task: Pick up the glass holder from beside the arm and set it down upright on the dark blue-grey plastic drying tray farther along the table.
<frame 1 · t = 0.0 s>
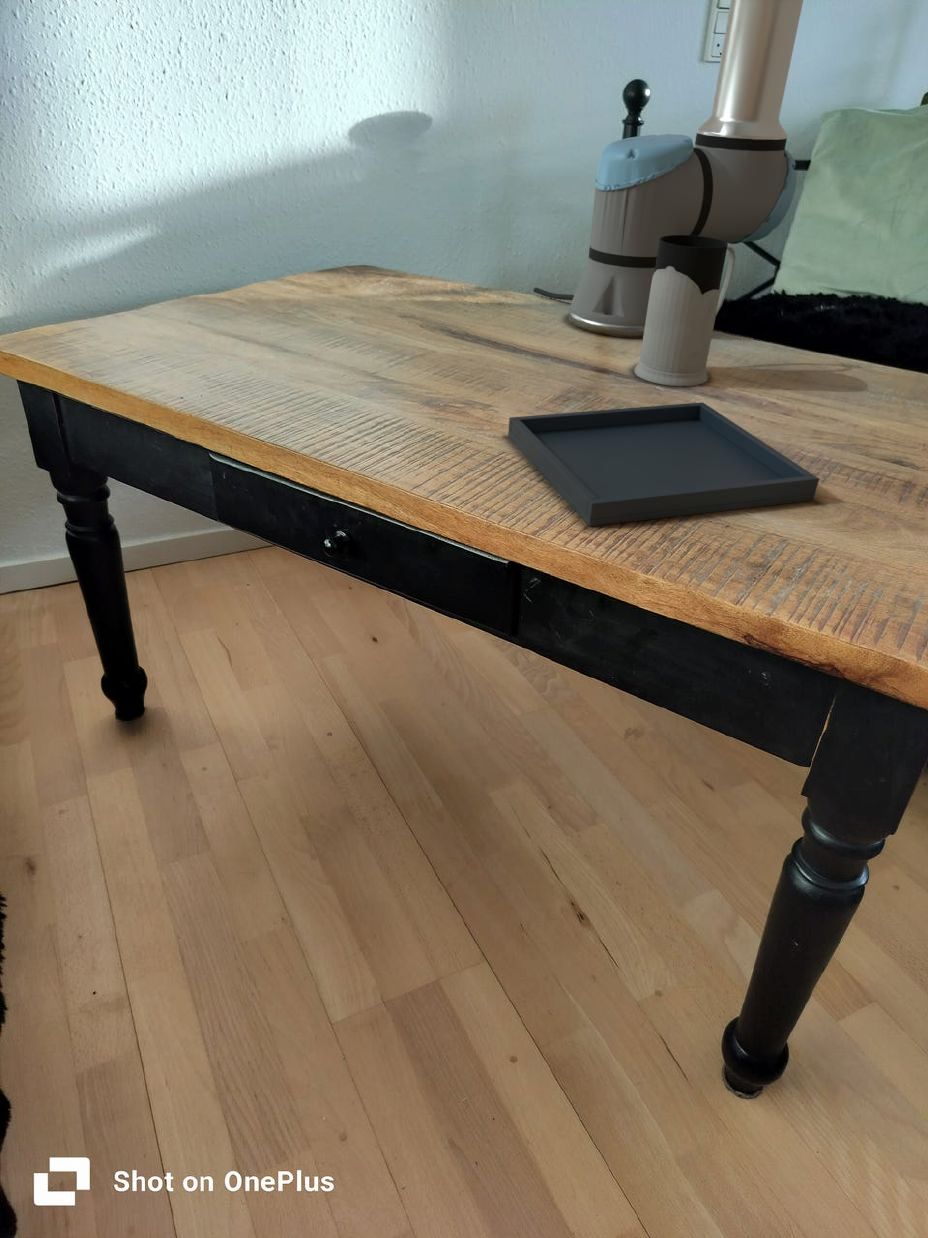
drying tray: (651, 467, 81), on the table
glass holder: (682, 371, 106), on the table
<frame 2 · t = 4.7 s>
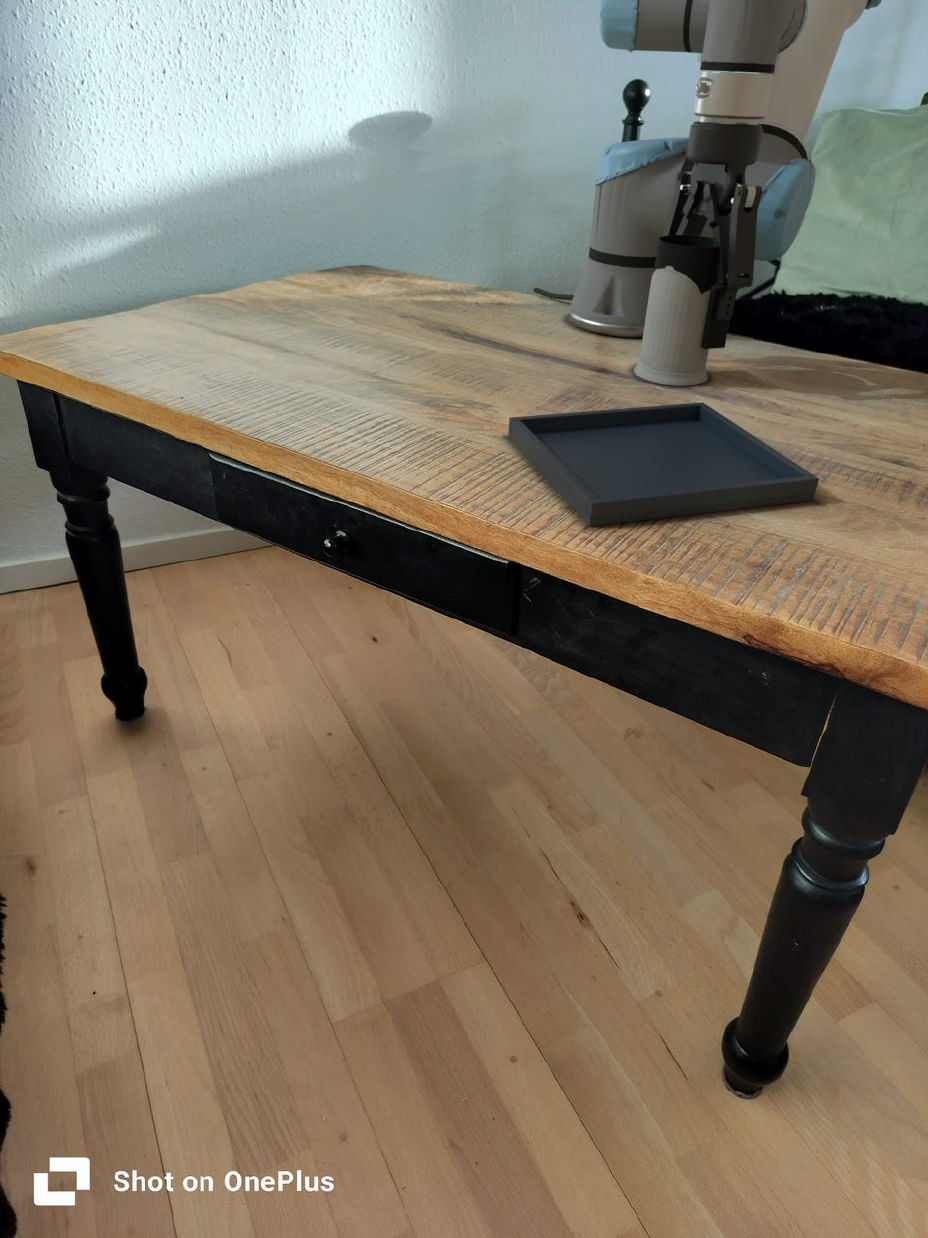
hand: (690, 335, 104), 4 cm above the table, tool pointing down, fingers open, 9 cm apart
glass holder: (682, 371, 106), on the table, touching gripper
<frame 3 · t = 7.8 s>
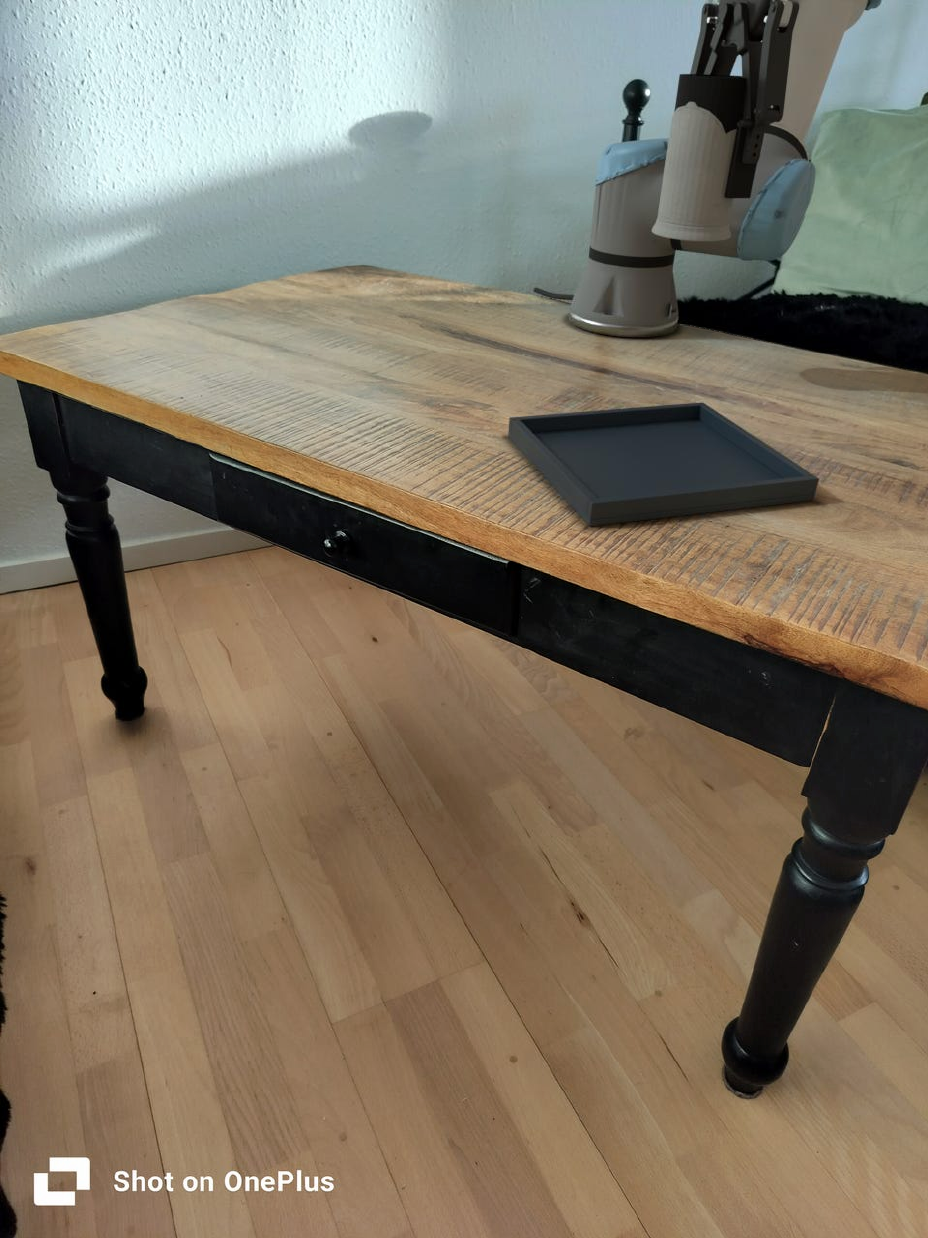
hand: (715, 191, 95), 20 cm above the table, tool pointing down, fingers closed on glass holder, 8 cm apart
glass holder: (703, 232, 99), point 15 cm above the table, touching gripper
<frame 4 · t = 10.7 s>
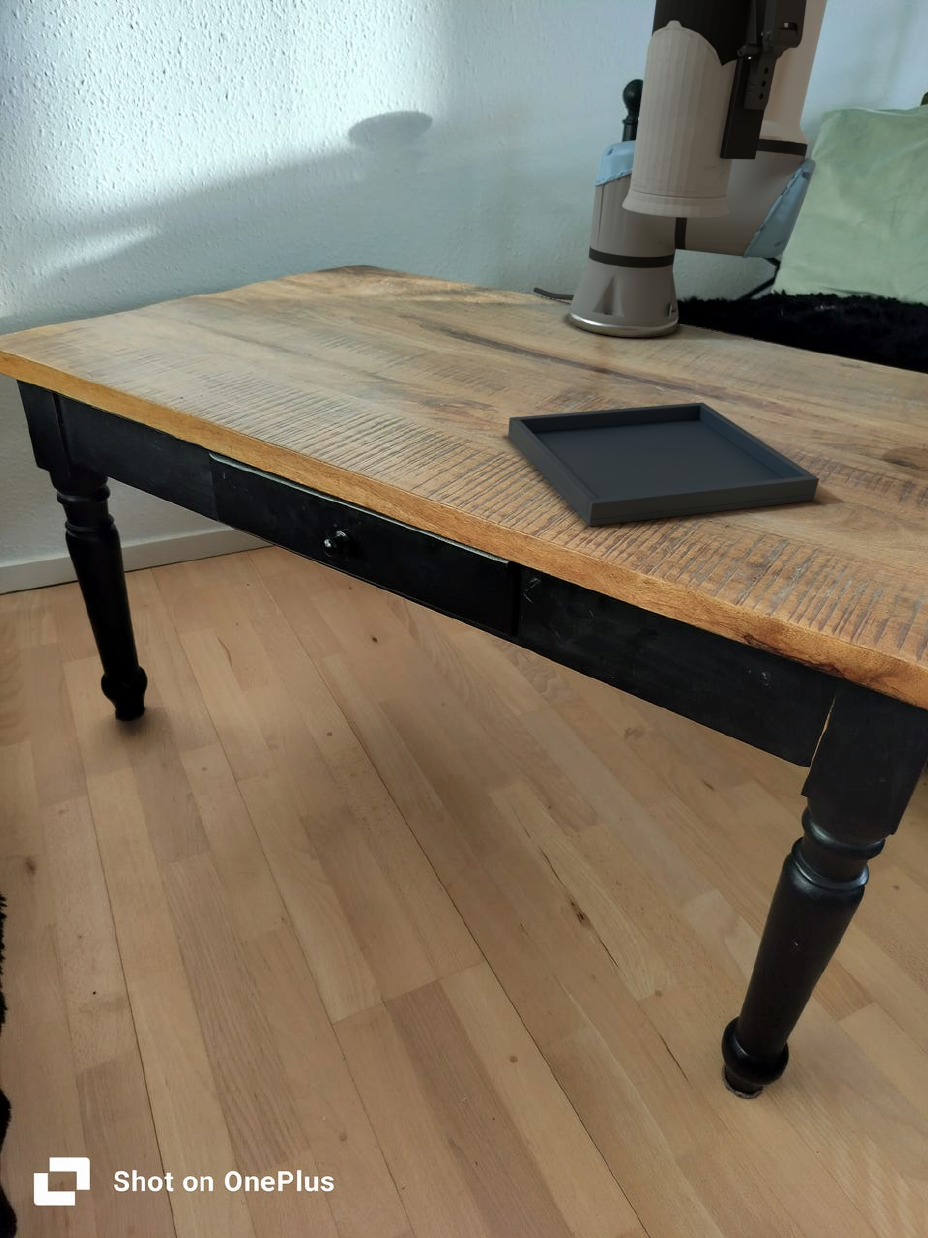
hand: (707, 152, 71), 26 cm above the table, tool pointing down, fingers closed on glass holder, 8 cm apart
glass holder: (692, 208, 74), point 21 cm above the table, touching gripper
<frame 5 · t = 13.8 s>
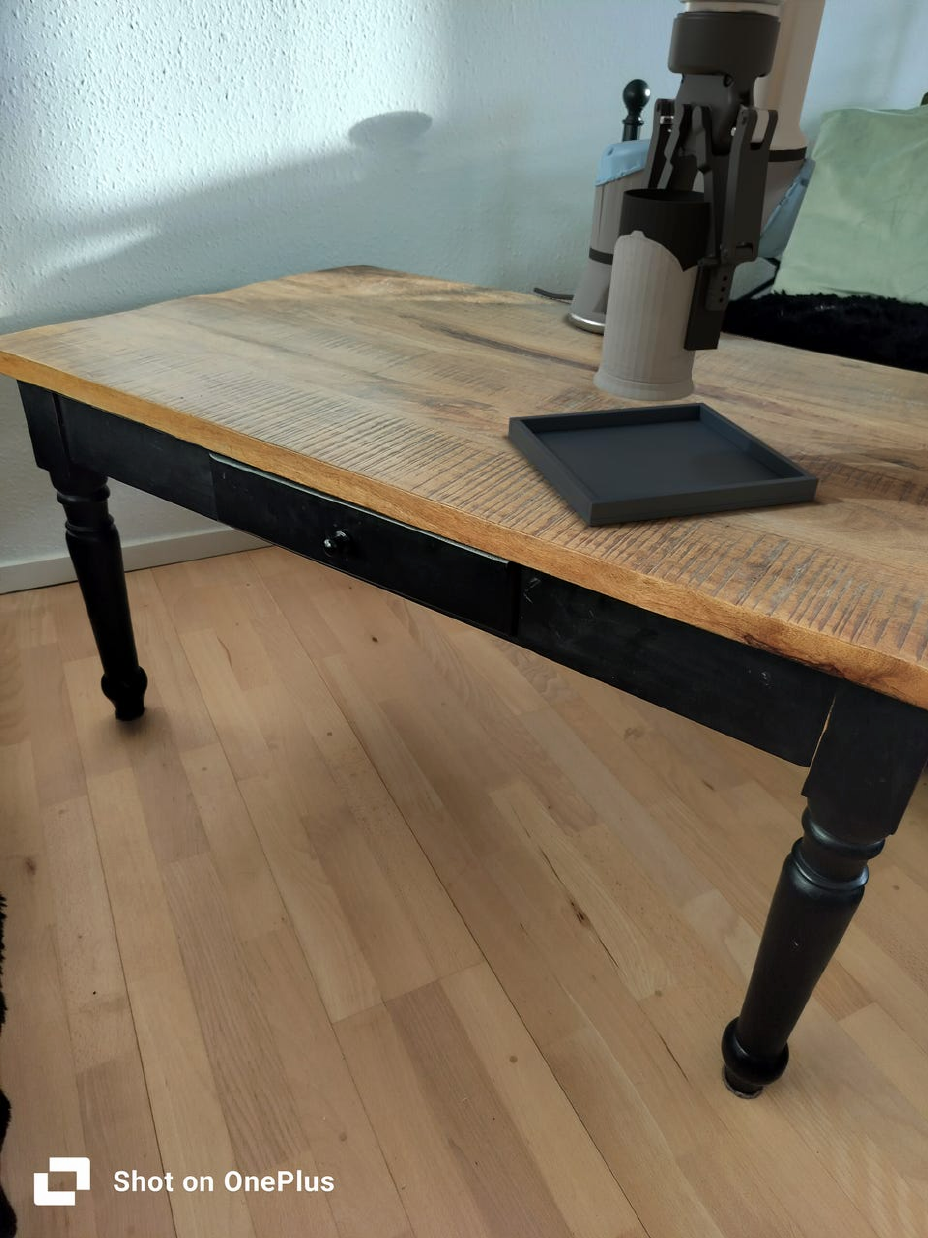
hand: (673, 333, 74), 12 cm above the table, tool pointing down, fingers closed on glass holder, 8 cm apart
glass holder: (660, 379, 77), point 8 cm above the table, touching gripper
when the fingers open (5 cm above the table, at t = 15.9 s): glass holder stays where it is, resting on drying tray.
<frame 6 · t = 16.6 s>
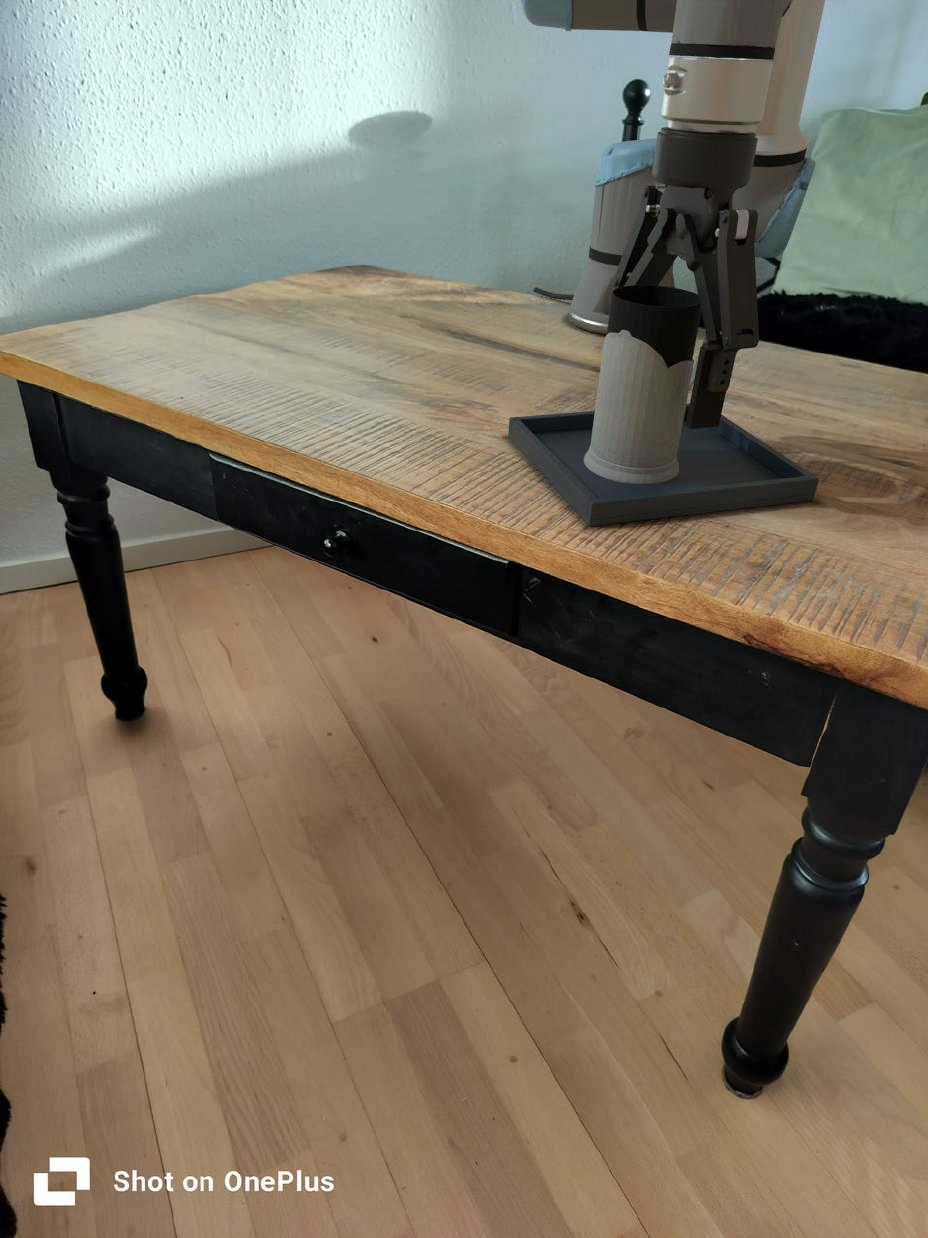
hand: (662, 399, 77), 7 cm above the table, tool pointing down, fingers open, 13 cm apart
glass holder: (648, 458, 82), resting on drying tray
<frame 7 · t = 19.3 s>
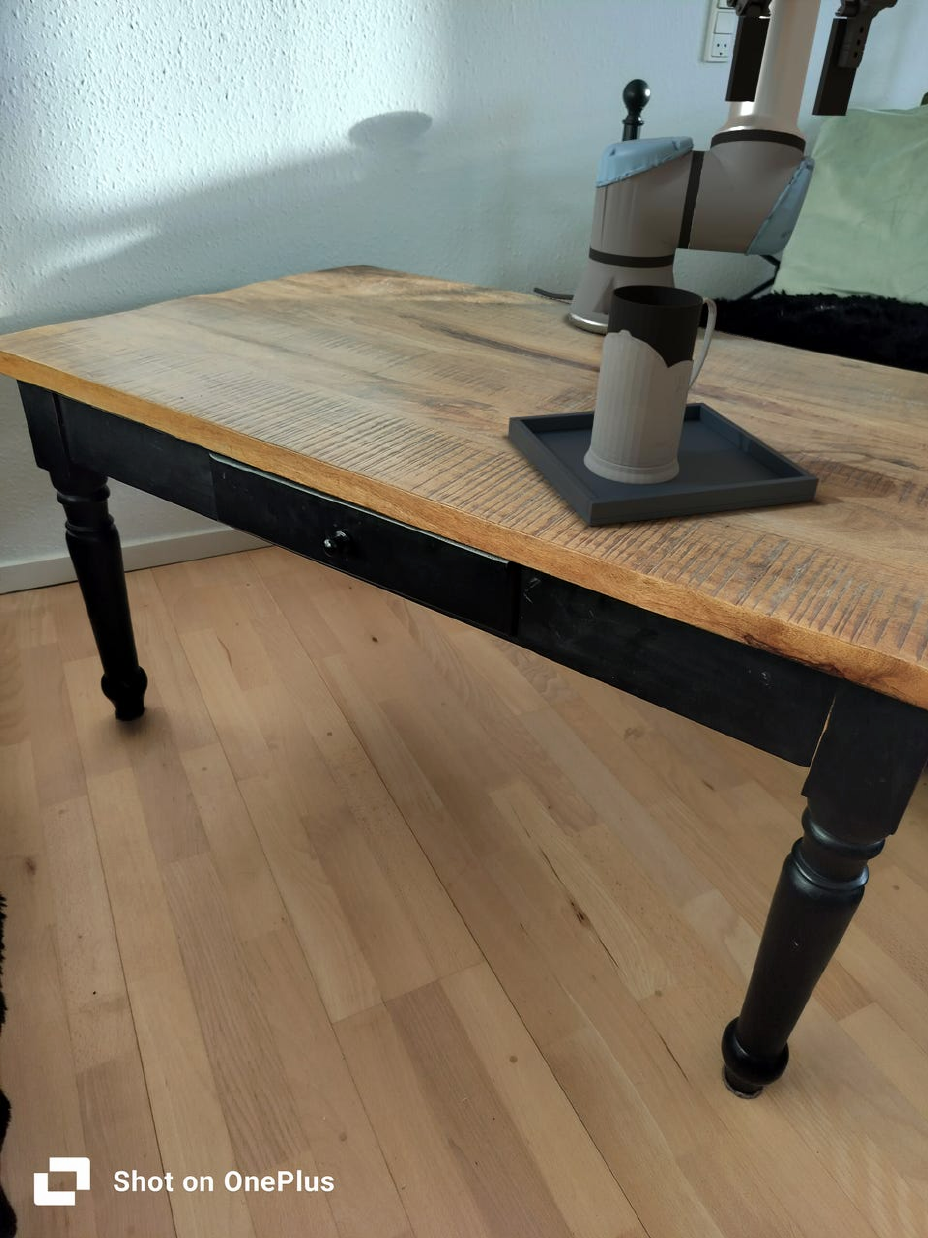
hand: (780, 108, 76), 29 cm above the table, tool pointing down, fingers open, 13 cm apart
nothing on the table moved.
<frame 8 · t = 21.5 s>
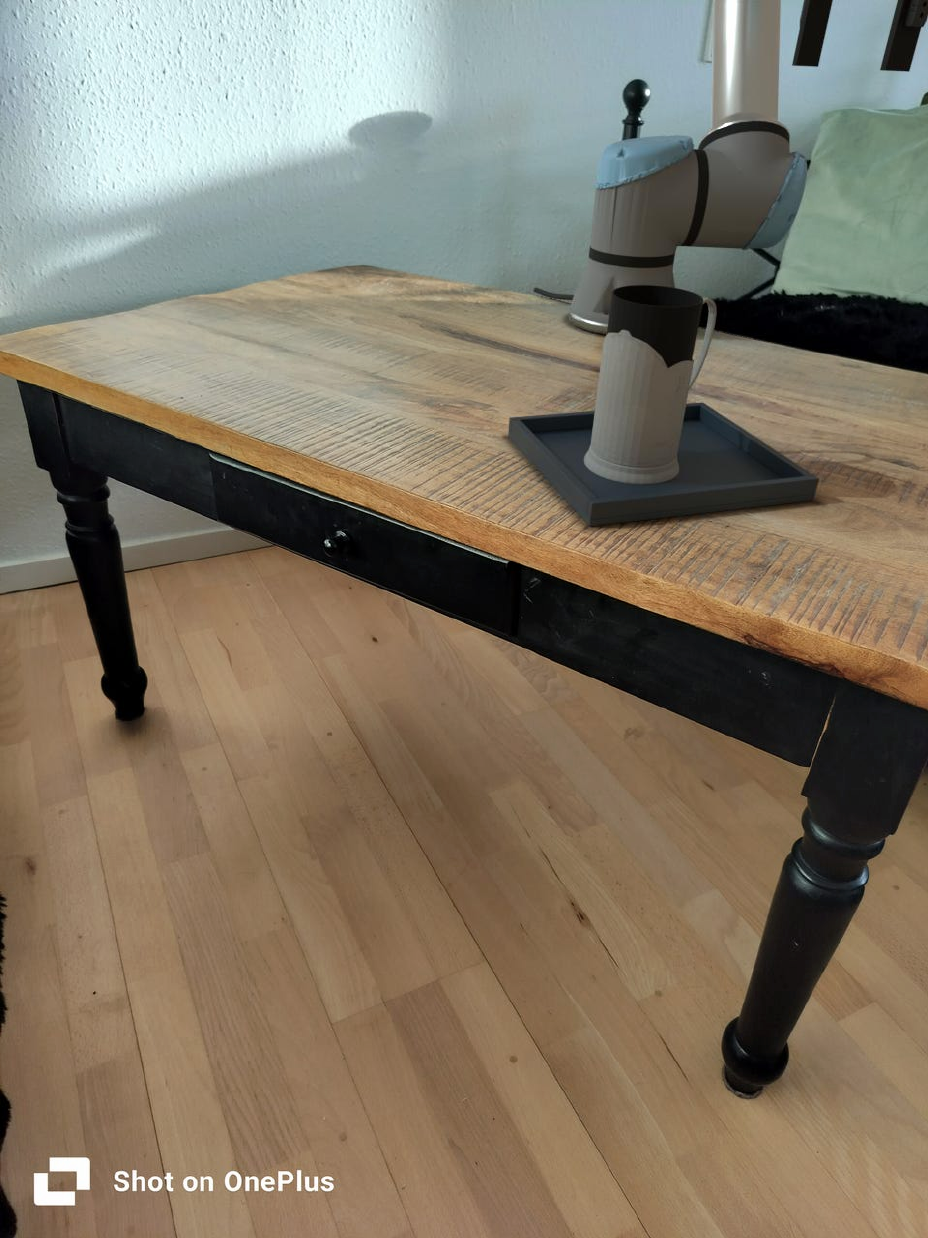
hand: (846, 68, 85), 32 cm above the table, tool pointing down, fingers open, 13 cm apart
nothing on the table moved.
at the end: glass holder inside the target area in the drying tray (1.0 cm from its centre), point 0.4 cm above the drying tray's base; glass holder tilted 0°; the gripper is holding nothing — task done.
